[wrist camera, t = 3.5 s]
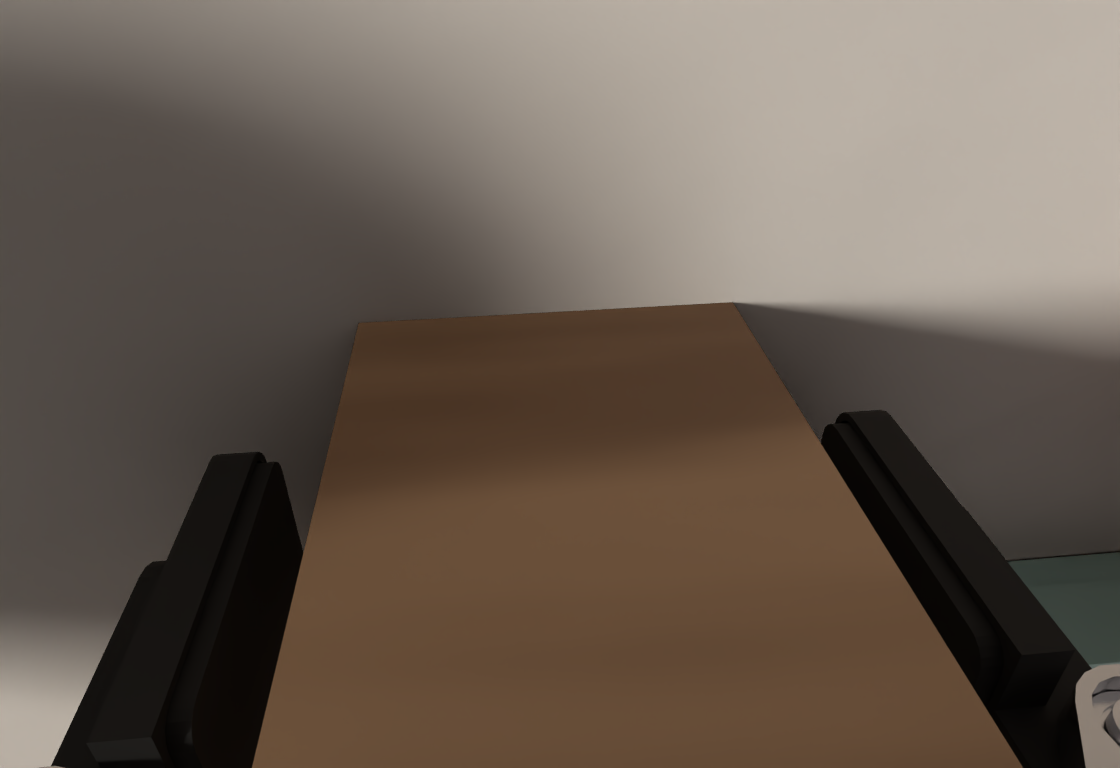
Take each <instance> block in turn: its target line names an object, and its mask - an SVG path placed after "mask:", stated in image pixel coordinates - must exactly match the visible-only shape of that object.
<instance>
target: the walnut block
mask: <svg viewBox="0 0 1120 768" xmlns="http://www.w3.org/2000/svg"><path fill="white" fill-rule="evenodd" d="M252 768H1023V767H1022V765H1021V764H1020V762H1019V760H1018V759H1017V757H1016V756H1015V754H1014V752H1013V751H1012V749H1011V748H1010V746H1009V744H1008V743H1007V741H1006V740H1005V738H1004V736H1003V735H1002V733H1001V732H1000V730H999V728H998V727H997V725H996V724H995V722H994V720H993V719H992V717H991V716H990V714H989V712H988V711H987V709H986V708H985V706H984V704H983V703H982V701H981V700H980V698H979V696H978V695H977V693H976V692H975V690H974V688H973V687H972V685H971V683H970V682H969V680H968V679H967V677H966V675H965V674H964V672H963V671H962V669H961V667H960V666H959V664H958V663H957V661H956V659H955V658H954V656H953V655H952V653H951V651H950V650H949V648H948V647H947V645H946V643H945V642H944V640H943V639H942V637H941V635H940V634H939V632H938V631H937V629H936V627H935V626H934V624H933V623H932V621H931V619H930V618H929V616H928V615H927V613H926V611H925V610H924V608H923V607H922V605H921V603H920V602H919V600H918V599H917V597H916V595H915V594H914V592H913V591H912V589H911V587H910V586H909V584H908V582H907V581H906V579H905V578H904V576H903V574H902V573H901V571H900V570H899V568H898V566H897V565H896V563H895V562H894V560H893V558H892V557H891V555H890V554H889V552H888V550H887V549H886V547H885V546H884V544H883V542H882V541H881V539H880V538H879V536H878V534H877V533H876V531H875V530H874V528H873V526H872V525H871V523H870V522H869V520H868V518H867V517H866V515H865V514H864V512H863V510H862V509H861V507H860V506H859V504H858V502H857V501H856V499H855V498H854V496H853V494H852V493H851V491H850V489H849V488H848V486H847V485H846V483H845V481H844V480H843V478H842V477H841V475H840V473H839V472H838V470H837V469H836V467H835V465H834V464H833V462H832V461H831V459H830V457H829V456H828V454H827V453H826V451H825V449H824V448H823V446H822V445H821V443H820V441H819V440H818V438H817V437H816V435H815V433H814V432H813V430H812V429H811V427H810V425H809V424H808V422H807V421H806V419H805V417H804V416H803V414H802V413H801V411H800V409H799V408H798V406H797V405H796V403H795V401H794V400H793V398H792V397H791V395H790V393H789V392H788V390H787V388H786V387H785V385H784V384H783V382H782V380H781V379H780V377H779V376H778V374H777V372H776V371H775V369H774V368H773V366H772V364H771V363H770V361H769V360H768V358H767V356H766V355H765V353H764V352H763V350H762V348H761V347H760V345H759V344H758V342H757V340H756V339H755V337H754V336H753V334H752V332H751V331H750V329H749V328H748V326H747V324H746V323H745V321H744V320H743V318H742V316H741V315H740V313H739V312H738V310H737V308H736V307H735V305H734V304H733V302H729V303H711V304H693V305H675V306H657V307H638V308H620V309H602V310H584V311H566V312H548V313H529V314H511V315H493V316H475V317H457V318H438V319H420V320H402V321H384V322H366V323H359V324H358V328H357V332H356V336H355V340H354V345H353V349H352V353H351V357H350V361H349V365H348V370H347V374H346V378H345V382H344V386H343V390H342V395H341V399H340V403H339V407H338V411H337V415H336V420H335V424H334V428H333V432H332V436H331V440H330V445H329V449H328V453H327V457H326V461H325V465H324V470H323V474H322V478H321V482H320V486H319V490H318V495H317V499H316V503H315V507H314V511H313V515H312V520H311V524H310V528H309V532H308V536H307V540H306V545H305V549H304V553H303V557H302V561H301V565H300V570H299V574H298V578H297V582H296V586H295V590H294V595H293V599H292V603H291V607H290V611H289V615H288V620H287V624H286V628H285V632H284V636H283V640H282V645H281V649H280V653H279V657H278V661H277V665H276V670H275V674H274V678H273V682H272V686H271V690H270V695H269V699H268V703H267V707H266V711H265V715H264V720H263V724H262V728H261V732H260V736H259V740H258V745H257V749H256V753H255V757H254V761H253V765H252Z"/></svg>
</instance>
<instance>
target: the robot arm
mask: <svg viewBox="0 0 1120 768" xmlns="http://www.w3.org/2000/svg"><path fill="white" fill-rule="evenodd" d="M821 445H822V446H823V448H824V449H825V451H826V453H827V454H828V456H829V457H830V459H831V461H832V462H833V464H834V465H835V467H836V469H837V470H838V472H839V473H840V475H841V477H842V478H843V480H844V481H845V483H846V485H847V486H848V488H849V489H850V491H851V493H852V494H853V496H854V498H855V499H856V501H857V502H858V504H859V506H860V507H861V509H862V510H863V512H864V514H865V515H866V517H867V518H868V520H869V522H870V523H871V525H872V526H873V528H874V530H875V531H876V533H877V534H878V536H879V538H880V539H881V541H882V542H883V544H884V546H885V547H886V549H887V550H888V552H889V554H890V555H891V557H892V558H893V560H894V562H895V563H896V565H897V566H898V568H899V570H900V571H901V573H902V574H903V576H904V578H905V579H906V581H907V582H908V584H909V586H910V587H911V589H912V591H913V592H914V594H915V595H916V597H917V599H918V600H919V602H920V603H921V605H922V607H923V608H924V610H925V611H926V613H927V615H928V616H929V618H930V619H931V621H932V623H933V624H934V626H935V627H936V629H937V631H938V632H939V634H940V635H941V637H942V639H943V640H944V642H945V643H946V645H947V647H948V648H949V650H950V651H951V653H952V655H953V656H954V658H955V659H956V661H957V663H958V664H959V666H960V667H961V669H962V671H963V672H964V674H965V675H966V677H967V679H968V680H969V682H970V683H971V685H972V687H973V688H974V690H975V692H976V693H977V695H978V696H979V698H980V700H981V701H982V703H983V704H984V706H985V708H986V709H987V711H988V712H989V714H990V716H991V717H992V719H993V720H994V722H995V724H996V725H997V727H998V728H999V730H1000V732H1001V733H1002V735H1003V736H1004V738H1005V740H1006V741H1007V743H1008V744H1009V746H1010V748H1011V749H1012V751H1013V752H1014V754H1015V756H1016V757H1017V759H1018V760H1019V762H1020V764H1021V765H1022V767H1023V768H1120V664H1112V665H1099V666H1097V667H1095V668H1093V669H1092V668H1091V667H1090V666H1089V664H1088V663H1087V662H1086V661H1085V659H1084V658H1083V657H1082V655H1081V654H1080V653H1079V652H1078V650H1077V649H1076V648H1075V647H1074V645H1073V644H1072V643H1071V642H1070V640H1069V639H1068V638H1067V637H1066V635H1065V634H1064V633H1063V631H1062V630H1061V629H1060V628H1059V626H1058V625H1057V624H1056V623H1055V621H1054V620H1053V619H1052V618H1051V616H1050V615H1049V614H1048V613H1047V611H1046V610H1045V609H1044V607H1043V606H1042V605H1041V604H1040V602H1039V601H1038V600H1037V599H1036V597H1035V596H1034V595H1033V594H1032V592H1031V591H1030V590H1029V588H1028V587H1027V586H1026V585H1025V583H1024V582H1023V581H1022V580H1021V578H1020V577H1019V576H1018V575H1017V573H1016V572H1015V571H1014V570H1013V568H1012V567H1011V566H1010V564H1009V563H1008V562H1007V561H1006V559H1005V558H1004V557H1003V556H1002V554H1001V553H1000V552H999V551H998V549H997V548H996V547H995V545H994V544H993V543H992V542H991V540H990V539H989V538H988V537H987V535H986V534H985V533H984V532H983V530H982V529H981V528H980V527H979V525H978V524H977V523H976V521H975V520H974V519H973V518H972V516H971V515H970V514H969V513H968V512H967V511H966V510H965V509H964V508H963V507H962V505H961V504H960V503H959V502H958V500H957V499H956V498H955V497H954V495H953V494H952V493H951V492H950V490H949V489H948V488H947V486H946V485H945V484H944V483H943V481H942V480H941V479H940V478H939V476H938V475H937V474H936V473H935V471H934V470H933V469H932V467H931V466H930V465H929V464H928V462H927V461H926V460H925V459H924V457H923V456H922V455H921V453H920V452H919V451H918V450H917V448H916V447H915V446H914V445H913V443H912V442H911V441H910V440H909V438H908V437H907V436H906V434H905V433H904V432H903V431H902V429H901V428H900V427H899V426H898V424H897V423H896V422H895V421H894V419H893V418H892V417H891V416H890V415H889V414H888V413H887V412H886V411H883V410H875V411H860V412H845V413H842V414H840V415H839V416H838V418H837V419H836V422H835V424H829V425H827V426H826V427H825V429H824V432H823V436H822V441H821ZM302 557H303V549H302V545H301V542H300V538H299V534H298V530H297V526H296V522H295V518H294V515H293V511H292V507H291V503H290V499H289V495H288V492H287V488H286V484H285V480H284V476H283V472H282V469H281V466H280V465H279V463H278V462H266V459H265V457H264V455H263V454H262V453H260V452H250V453H235V454H220V455H215V456H213V457H212V459H211V461H210V462H209V465H208V467H207V469H206V472H205V474H204V476H203V478H202V481H201V483H200V485H199V487H198V490H197V492H196V494H195V497H194V499H193V501H192V503H191V506H190V508H189V510H188V513H187V515H186V517H185V519H184V522H183V524H182V526H181V528H180V531H179V533H178V535H177V538H176V540H175V542H174V544H173V547H172V549H171V551H170V554H169V556H168V558H167V560H166V561H158V562H152V563H151V564H149V565H148V566H147V567H145V569H144V571H143V572H142V574H141V575H140V577H139V579H138V581H137V583H136V586H135V588H134V590H133V592H132V594H131V596H130V598H129V600H128V603H127V605H126V607H125V609H124V611H123V613H122V615H121V618H120V620H119V622H118V624H117V626H116V628H115V630H114V633H113V635H112V637H111V639H110V641H109V643H108V645H107V648H106V650H105V652H104V654H103V656H102V658H101V660H100V663H99V665H98V667H97V669H96V671H95V673H94V675H93V678H92V680H91V682H90V684H89V686H88V688H87V690H86V693H85V695H84V697H83V699H82V701H81V703H80V705H79V707H78V710H77V712H76V714H75V716H74V718H73V720H72V722H71V725H70V727H69V729H68V731H67V733H66V735H65V737H64V740H63V742H62V744H61V746H60V748H59V750H58V752H57V755H56V757H55V759H54V761H53V763H52V765H51V766H50V767H41V768H252V765H253V761H254V757H255V753H256V749H257V745H258V740H259V736H260V732H261V728H262V724H263V720H264V715H265V711H266V707H267V703H268V699H269V695H270V690H271V686H272V682H273V678H274V674H275V670H276V665H277V661H278V657H279V653H280V649H281V645H282V640H283V636H284V632H285V628H286V624H287V620H288V615H289V611H290V607H291V603H292V599H293V595H294V590H295V586H296V582H297V578H298V574H299V570H300V565H301V561H302Z"/></svg>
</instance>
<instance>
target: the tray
mask: <svg viewBox="0 0 1120 768" xmlns="http://www.w3.org/2000/svg"><path fill="white" fill-rule="evenodd" d="M1008 563H1009V564H1010V566H1011V567H1012V568H1013V570H1014V571H1015V572H1016V573H1017V575H1018V576H1019V577H1020V578H1021V580H1022V581H1023V582H1024V583H1025V585H1026V586H1027V587H1028V588H1029V590H1030V591H1031V592H1032V594H1033V595H1034V596H1035V597H1036V599H1037V600H1038V601H1039V602H1040V604H1041V605H1042V606H1043V607H1044V609H1045V610H1046V611H1047V613H1048V614H1049V615H1050V616H1051V618H1052V619H1053V620H1054V621H1055V623H1056V624H1057V625H1058V626H1059V628H1060V629H1061V630H1062V631H1063V633H1064V634H1065V635H1066V637H1067V638H1068V639H1069V640H1070V642H1071V643H1072V644H1073V645H1074V647H1075V648H1076V649H1077V650H1078V652H1079V653H1080V654H1081V655H1082V657H1083V658H1084V659H1085V661H1086V662H1087V663H1088V664H1089V666H1090V667H1091V668H1092V669H1093V668H1095V667H1097V666H1099V665H1112V664H1120V552H1116V553H1104V554H1092V555H1080V556H1068V557H1056V558H1044V559H1033V560H1021V561H1009V562H1008Z"/></svg>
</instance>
